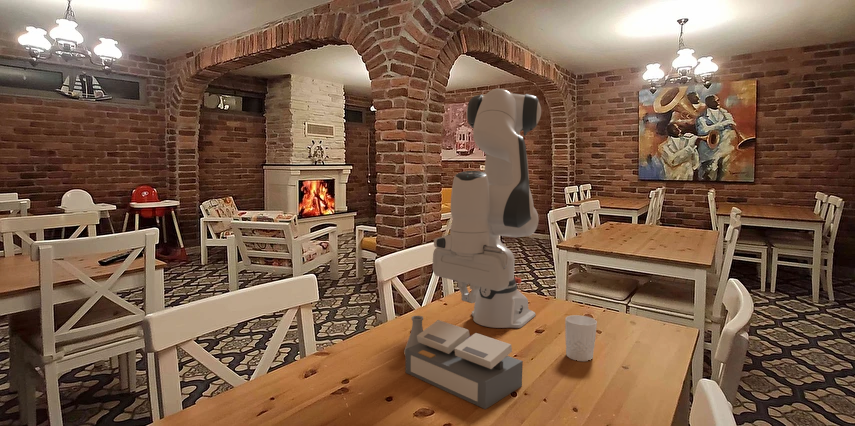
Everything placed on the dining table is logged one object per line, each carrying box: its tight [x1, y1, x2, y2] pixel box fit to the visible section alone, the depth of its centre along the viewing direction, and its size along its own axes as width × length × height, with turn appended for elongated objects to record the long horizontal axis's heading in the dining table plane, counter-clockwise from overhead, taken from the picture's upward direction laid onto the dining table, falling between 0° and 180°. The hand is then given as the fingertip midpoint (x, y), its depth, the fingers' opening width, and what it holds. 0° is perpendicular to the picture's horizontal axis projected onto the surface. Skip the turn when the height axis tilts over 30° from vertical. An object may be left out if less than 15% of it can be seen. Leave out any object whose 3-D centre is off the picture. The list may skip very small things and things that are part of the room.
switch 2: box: [454, 332, 513, 369], centre depth 104 cm, size 8×10×2 cm
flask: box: [403, 315, 424, 357], centre depth 123 cm, size 7×7×10 cm
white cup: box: [564, 314, 598, 362], centre depth 122 cm, size 8×8×10 cm
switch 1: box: [417, 319, 471, 354], centre depth 112 cm, size 8×10×2 cm
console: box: [405, 343, 524, 410], centre depth 108 cm, size 14×24×8 cm, turn 46°
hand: (468, 301), depth 106 cm, fingers closed
